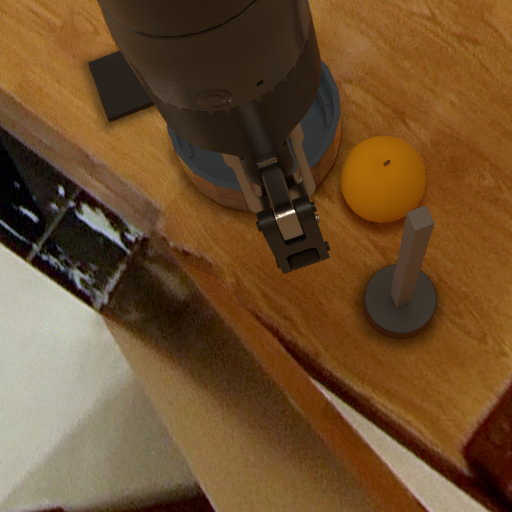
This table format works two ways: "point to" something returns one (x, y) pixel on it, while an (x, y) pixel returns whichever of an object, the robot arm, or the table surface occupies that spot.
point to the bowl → (314, 143)
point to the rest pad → (118, 86)
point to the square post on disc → (404, 284)
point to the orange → (383, 179)
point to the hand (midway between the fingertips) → (280, 178)
